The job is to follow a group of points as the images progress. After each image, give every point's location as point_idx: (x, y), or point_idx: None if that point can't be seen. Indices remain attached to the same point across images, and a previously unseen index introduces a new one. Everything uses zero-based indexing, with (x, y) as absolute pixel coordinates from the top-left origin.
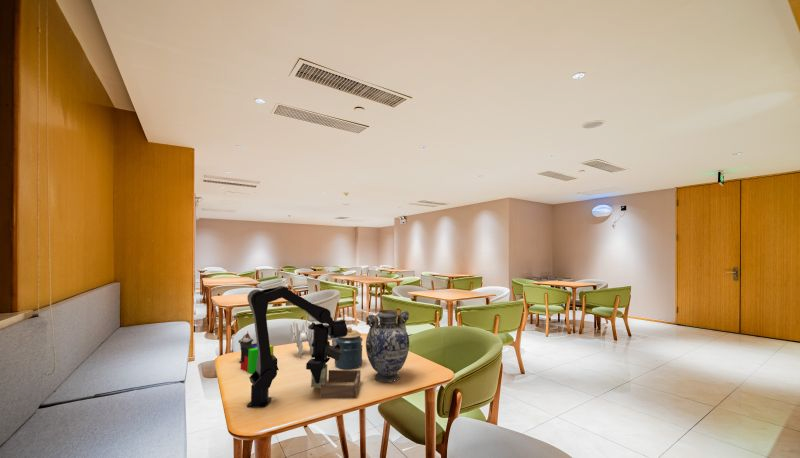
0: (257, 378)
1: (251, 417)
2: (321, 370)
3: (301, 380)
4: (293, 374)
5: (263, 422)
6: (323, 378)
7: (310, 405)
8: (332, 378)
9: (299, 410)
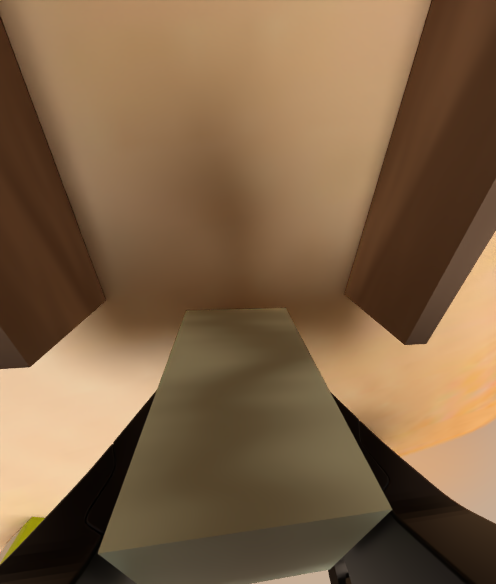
0: (345, 569)
1: (420, 432)
2: (409, 497)
3: (126, 421)
4: (63, 460)
5: (467, 404)
6: (309, 364)
7: None
8: (74, 284)
9: (446, 345)
